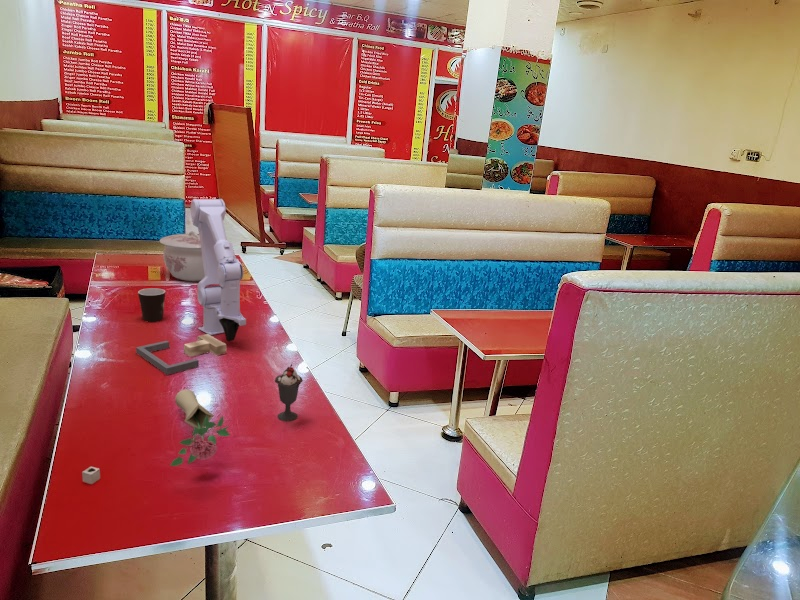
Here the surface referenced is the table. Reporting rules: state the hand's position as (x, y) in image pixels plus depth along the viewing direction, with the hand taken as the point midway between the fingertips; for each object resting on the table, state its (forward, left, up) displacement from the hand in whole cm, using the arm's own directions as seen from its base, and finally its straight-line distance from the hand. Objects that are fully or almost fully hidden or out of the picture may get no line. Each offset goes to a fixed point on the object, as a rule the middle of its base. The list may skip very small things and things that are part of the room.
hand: (230, 340), depth 182 cm
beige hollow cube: (+59, +45, -2) cm, 74 cm away
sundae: (+14, +49, -2) cm, 51 cm away
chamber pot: (-30, -77, -2) cm, 83 cm away
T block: (+10, 0, -2) cm, 10 cm away
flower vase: (+37, +45, -2) cm, 58 cm away
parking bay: (+21, 0, -1) cm, 21 cm away
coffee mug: (+7, -36, -2) cm, 37 cm away
